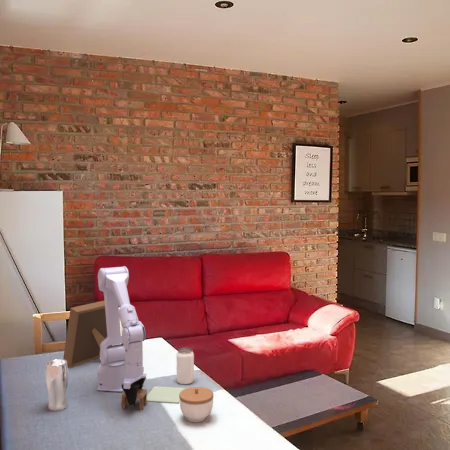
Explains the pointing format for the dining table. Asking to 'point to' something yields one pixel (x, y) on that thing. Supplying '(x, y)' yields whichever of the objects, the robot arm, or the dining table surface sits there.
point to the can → (185, 366)
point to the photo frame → (85, 333)
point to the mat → (164, 394)
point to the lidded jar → (196, 403)
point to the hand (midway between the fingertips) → (134, 401)
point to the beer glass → (57, 383)
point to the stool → (140, 394)
